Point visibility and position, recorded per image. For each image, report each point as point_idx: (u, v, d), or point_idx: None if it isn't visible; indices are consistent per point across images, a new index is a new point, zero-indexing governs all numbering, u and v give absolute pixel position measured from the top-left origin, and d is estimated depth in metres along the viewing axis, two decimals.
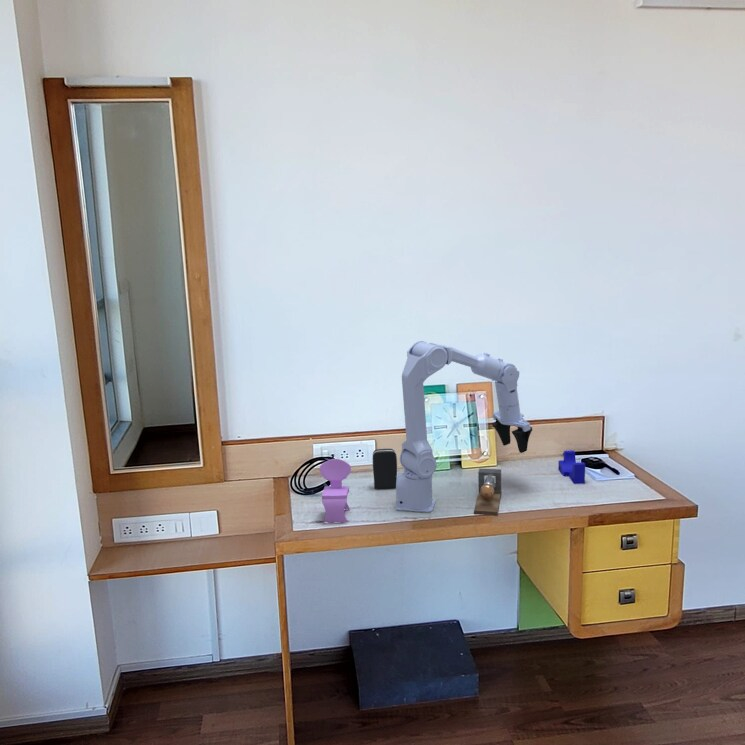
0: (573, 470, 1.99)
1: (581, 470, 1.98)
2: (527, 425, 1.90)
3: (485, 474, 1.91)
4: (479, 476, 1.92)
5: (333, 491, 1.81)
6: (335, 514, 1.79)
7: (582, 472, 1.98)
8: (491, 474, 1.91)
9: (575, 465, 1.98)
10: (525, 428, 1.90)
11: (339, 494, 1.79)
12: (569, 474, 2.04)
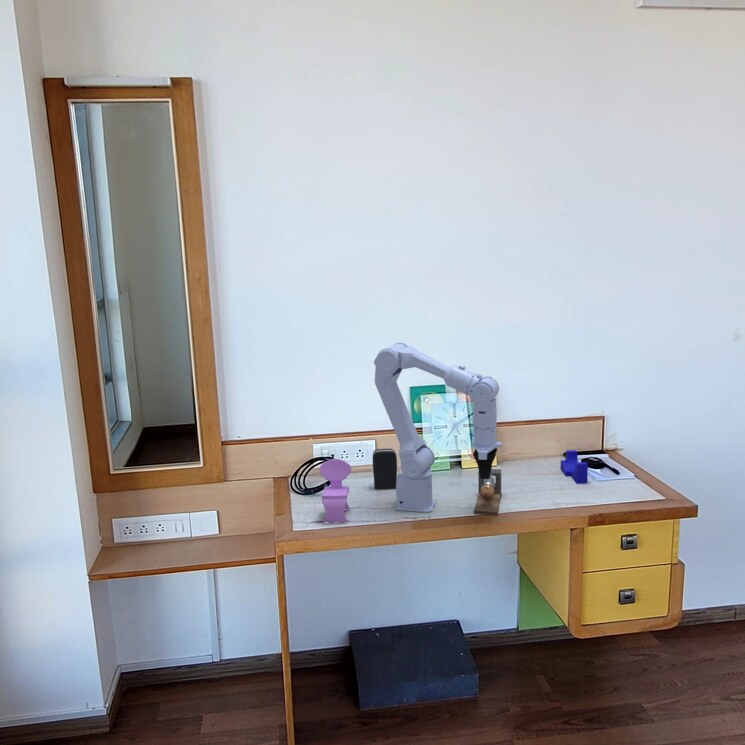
0: (576, 470, 1.99)
1: (583, 470, 1.98)
2: (482, 453, 1.69)
3: None
4: (479, 476, 1.92)
5: (333, 491, 1.81)
6: (335, 514, 1.79)
7: (584, 472, 1.98)
8: (491, 474, 1.91)
9: (578, 465, 1.98)
10: (479, 456, 1.70)
11: (339, 494, 1.79)
12: (571, 474, 2.04)
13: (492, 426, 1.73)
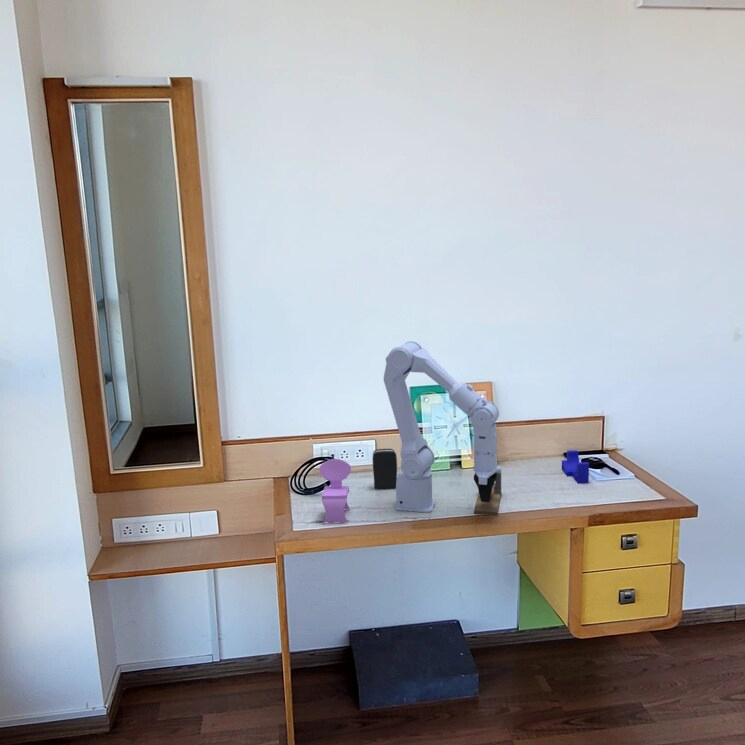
0: (577, 470, 1.99)
1: (585, 470, 1.98)
2: (483, 478, 1.71)
3: None
4: None
5: (333, 491, 1.81)
6: (335, 514, 1.79)
7: (586, 471, 1.98)
8: None
9: (579, 465, 1.98)
10: (480, 481, 1.71)
11: (339, 494, 1.79)
12: (573, 474, 2.04)
13: (492, 451, 1.74)
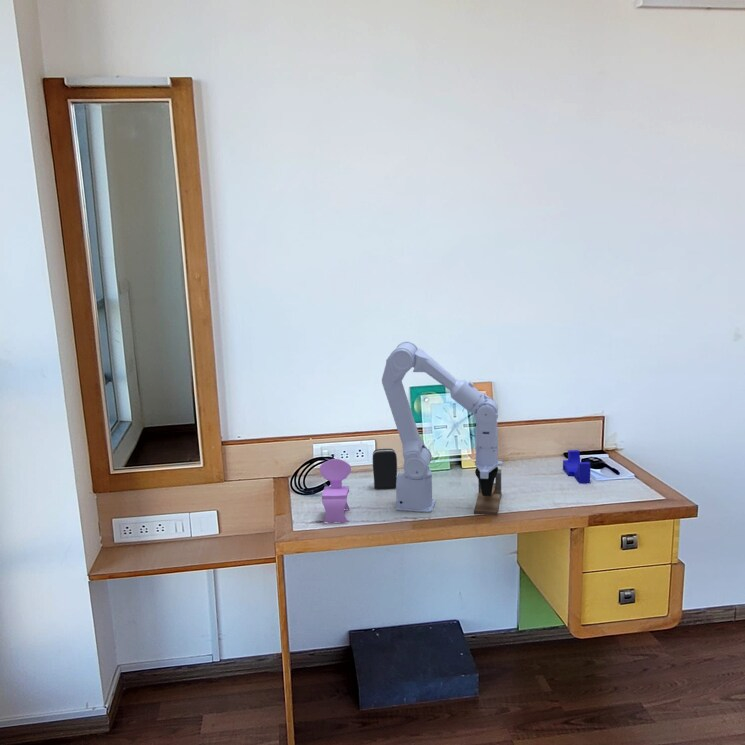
0: (578, 470, 1.99)
1: (586, 469, 1.98)
2: (484, 473, 1.75)
3: None
4: None
5: (333, 491, 1.81)
6: (335, 514, 1.79)
7: (587, 471, 1.98)
8: None
9: (580, 465, 1.98)
10: (481, 475, 1.75)
11: (339, 494, 1.79)
12: (574, 474, 2.04)
13: (495, 445, 1.78)
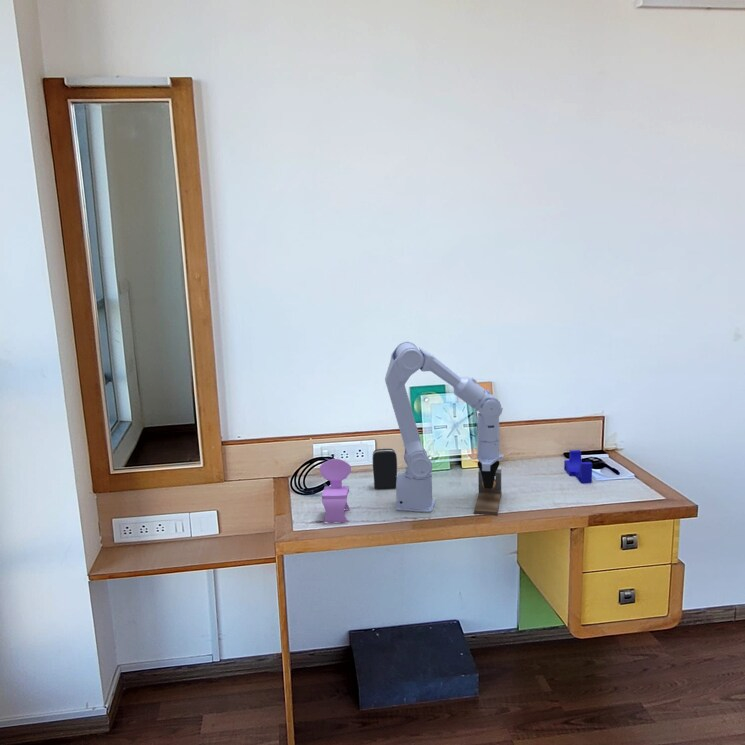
0: (580, 470, 1.99)
1: (588, 470, 1.98)
2: (486, 465, 1.80)
3: None
4: (479, 476, 1.92)
5: (333, 491, 1.81)
6: (335, 514, 1.79)
7: (589, 471, 1.98)
8: None
9: (582, 465, 1.98)
10: (483, 467, 1.80)
11: (339, 494, 1.79)
12: (576, 474, 2.04)
13: (498, 438, 1.84)
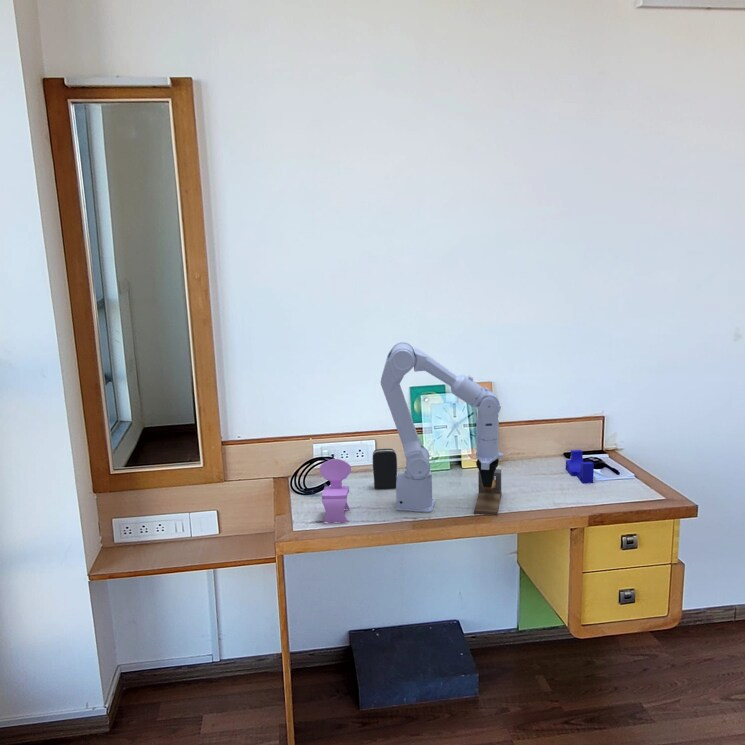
0: (582, 469, 1.99)
1: (589, 469, 1.98)
2: (485, 464, 1.77)
3: None
4: (479, 476, 1.92)
5: (333, 491, 1.81)
6: (335, 514, 1.79)
7: (590, 471, 1.98)
8: None
9: (584, 464, 1.98)
10: (482, 466, 1.77)
11: (339, 494, 1.79)
12: (577, 473, 2.04)
13: (497, 436, 1.81)
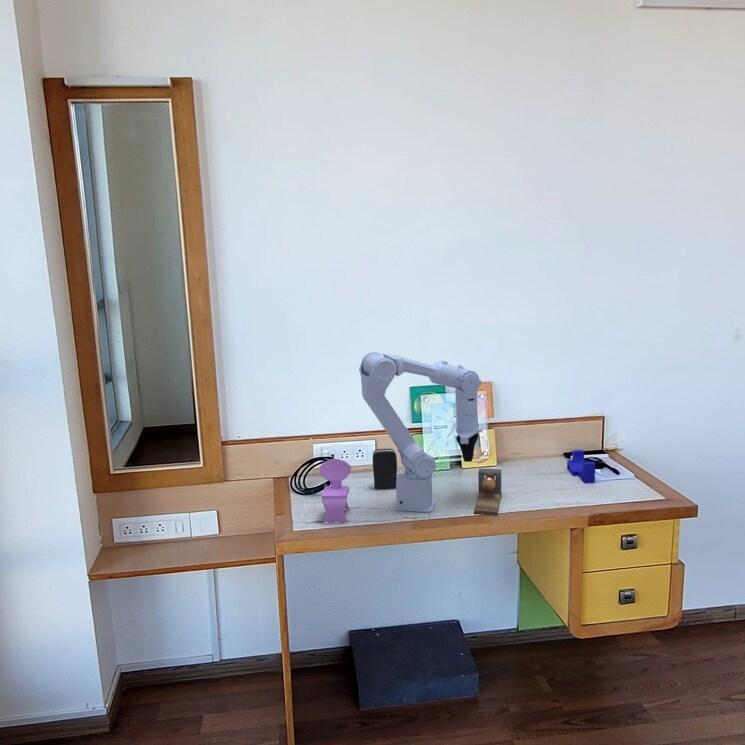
0: (583, 469, 1.99)
1: (591, 469, 1.98)
2: (464, 438, 1.82)
3: (485, 474, 1.91)
4: (479, 476, 1.92)
5: (333, 491, 1.81)
6: (335, 514, 1.79)
7: (592, 471, 1.98)
8: (491, 474, 1.91)
9: (585, 464, 1.98)
10: (461, 440, 1.82)
11: (339, 494, 1.79)
12: (579, 473, 2.04)
13: (477, 411, 1.87)
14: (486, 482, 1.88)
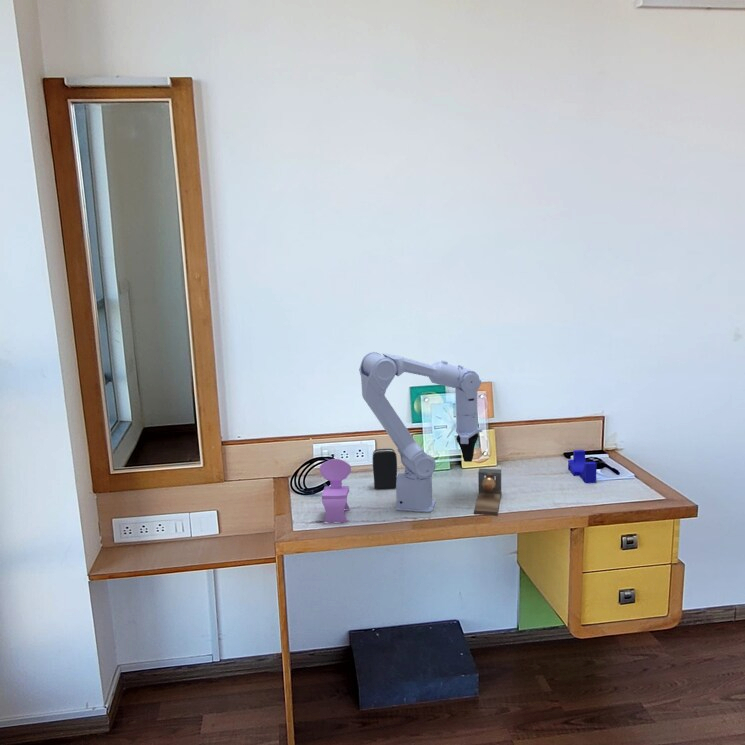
0: (584, 469, 1.99)
1: (592, 469, 1.98)
2: (464, 438, 1.82)
3: (485, 474, 1.91)
4: (479, 476, 1.92)
5: (333, 491, 1.81)
6: (335, 514, 1.79)
7: (593, 471, 1.98)
8: (491, 474, 1.91)
9: (587, 464, 1.98)
10: (461, 440, 1.82)
11: (339, 494, 1.79)
12: (580, 473, 2.04)
13: (477, 411, 1.87)
14: (486, 482, 1.88)
